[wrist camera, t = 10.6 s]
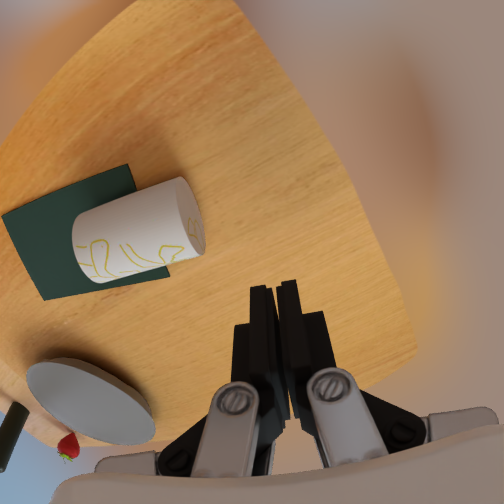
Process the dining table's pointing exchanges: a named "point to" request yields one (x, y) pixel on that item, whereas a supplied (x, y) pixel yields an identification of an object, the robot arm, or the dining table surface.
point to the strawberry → (69, 447)
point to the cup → (139, 232)
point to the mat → (67, 235)
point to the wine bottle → (11, 431)
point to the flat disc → (91, 401)
